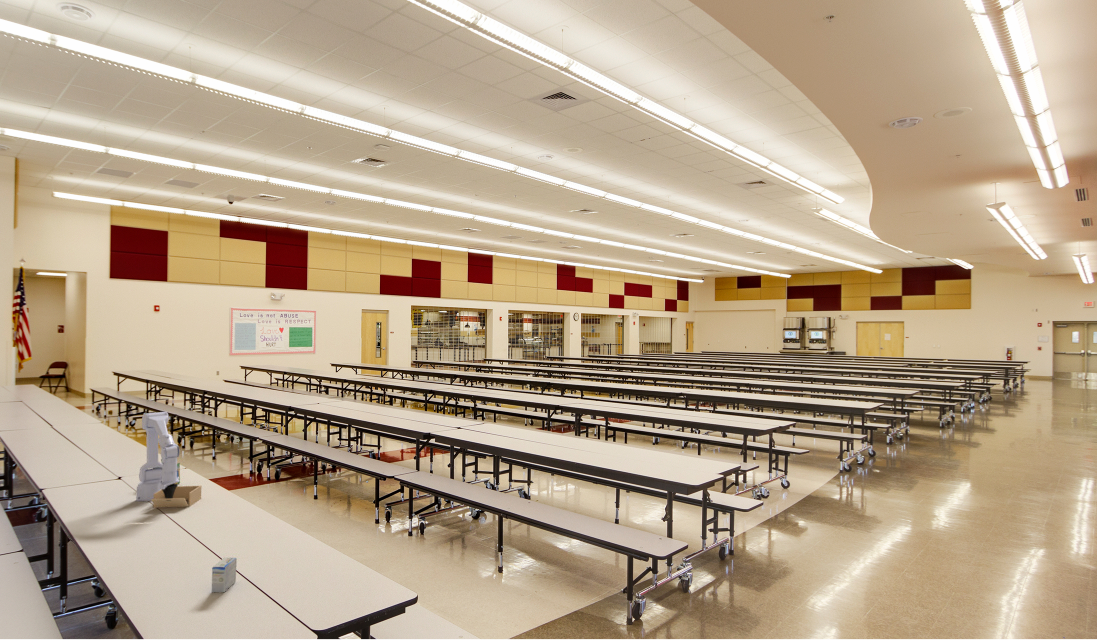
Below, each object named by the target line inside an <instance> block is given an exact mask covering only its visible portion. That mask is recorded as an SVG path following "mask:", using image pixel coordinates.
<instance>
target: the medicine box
mask: <svg viewBox="0 0 1097 640" xmlns="http://www.w3.org/2000/svg"><path fill="white" fill-rule="evenodd" d="M237 562H238V561H237V557H223V558H222V559H220V560H219V561H218V562H217V563H216V564H215V565H214V566H213V567H211V568H212V571H211V593H212V592H224V593H225V591H226V590H227V591H228V590H229V589H230V588H231V587H232V586H233V584H235V583H236V581H237ZM228 588H229V589H228ZM227 591H226V592H227Z"/></svg>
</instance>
